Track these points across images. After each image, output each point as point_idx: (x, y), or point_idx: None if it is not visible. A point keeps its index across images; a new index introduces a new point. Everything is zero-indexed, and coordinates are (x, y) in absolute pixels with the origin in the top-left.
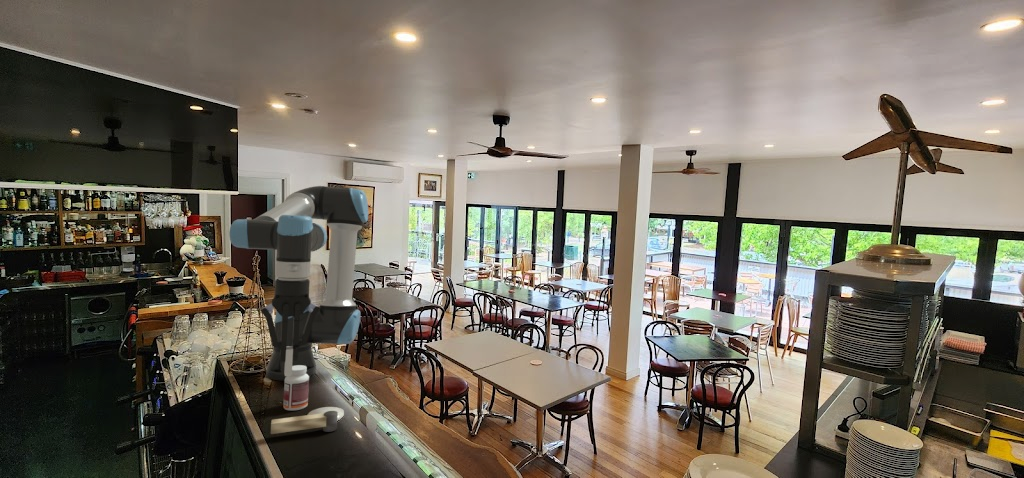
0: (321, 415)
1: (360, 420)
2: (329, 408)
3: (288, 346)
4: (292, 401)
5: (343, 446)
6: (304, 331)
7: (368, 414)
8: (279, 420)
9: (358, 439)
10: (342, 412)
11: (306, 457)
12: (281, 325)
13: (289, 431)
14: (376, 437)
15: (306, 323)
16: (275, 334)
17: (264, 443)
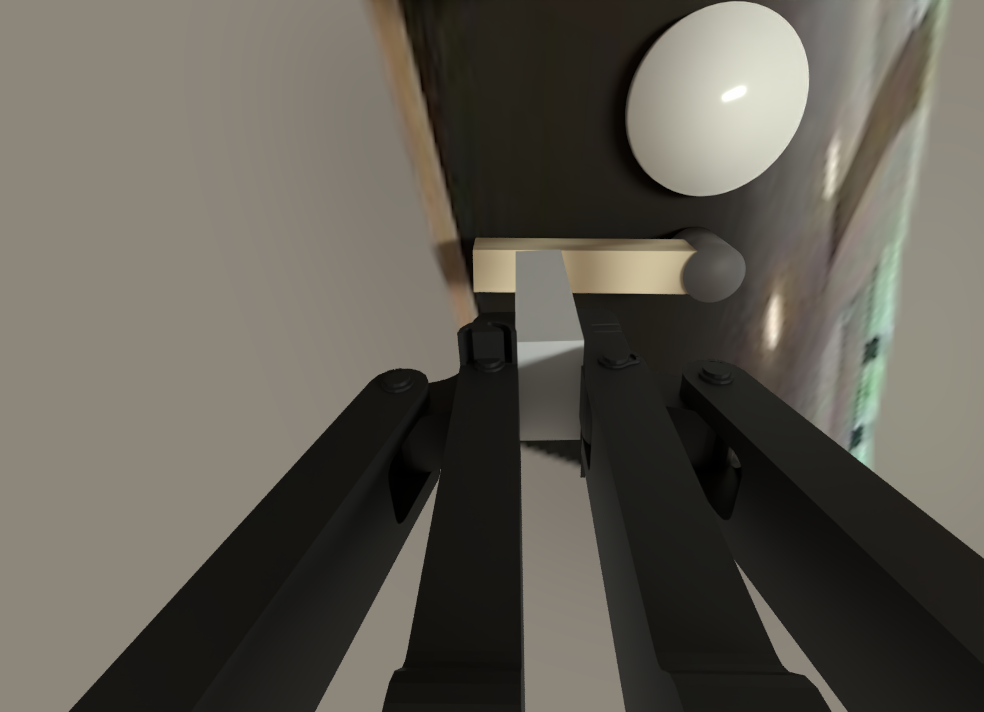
0: (673, 272)
1: (836, 198)
2: (753, 32)
3: (543, 345)
4: None
5: None
6: (754, 562)
7: (902, 139)
8: (503, 268)
9: (757, 357)
10: (793, 120)
11: None
12: (426, 550)
13: None
14: (818, 364)
15: (862, 637)
16: (384, 573)
17: (460, 279)
